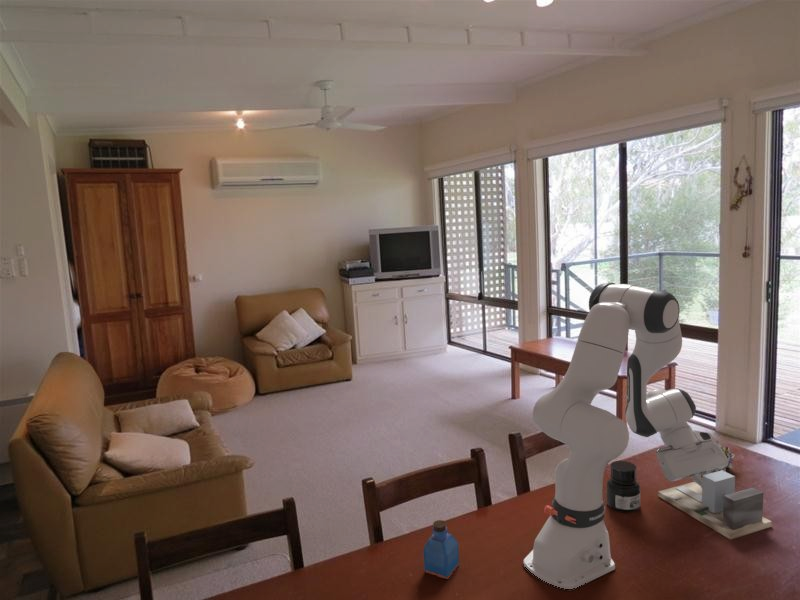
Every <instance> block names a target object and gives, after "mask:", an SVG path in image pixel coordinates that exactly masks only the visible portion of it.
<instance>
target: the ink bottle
mask: <svg viewBox="0 0 800 600" xmlns="http://www.w3.org/2000/svg"><path fill="white" fill-rule="evenodd" d="M606 504H607V506H608V507H609V508H611V509H612V510H615V511H617V512H620V513H634V512H636V511H638V510H640V508H641V485H640V483H639V481H637V466H636V465H635V463H632V462H630V461H626V460H615V461H612V462H611V463H610V478H608V480H607V481H606Z"/></svg>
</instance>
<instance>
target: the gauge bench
mask: <svg viewBox="0 0 800 600" xmlns="http://www.w3.org/2000/svg"><path fill="white" fill-rule="evenodd" d="M657 497H658V498H660V499H662V500H664V501H665V502H666V503H669V504H670V505H672V506H674V507H675V508H677V509H679V510H680V511H682V512H683V513H685V514H687V515H689V516H690V517H692V518H694V519H695V520H696V521H699V522H700V523H702V524H704V525H706V526H707V527H709V528H710V529H712V530H714V531H715V532H717V533H719V534H720V535H722V536H724V537H725V538H727V539H728V540H733V539H734V540H735V539H737V538H740V537H743V536H746V535H750V534H753V533H757V532H759V531H762V530H765V529H768V528H771V527H772V520H770V519H768V518H766V517H764V516H763V514H764V513H763V510H764V491H761V490H759V489H757V488H755V487H750V488H746V489H743V490H739V491H735V493H731V494H728V495H724V506H723V511H721V512H717V513H713V512H711V511H709V510H706V511H702V512H699V513H697V512H696V510H697V509H701V508H704V507H702V488H701V486H700V485H698V484H697V483H696V482H694V481H693V482H692V481H691V482H688V483H685V484H681V485H678V486H673V487H670V488H669V487H668V488H666V489H665V488H664V489H661V490H658V491H657Z"/></svg>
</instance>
